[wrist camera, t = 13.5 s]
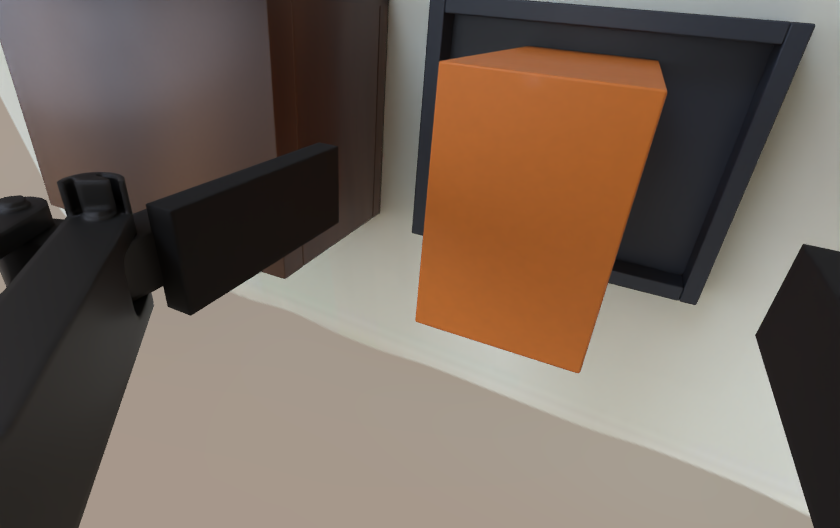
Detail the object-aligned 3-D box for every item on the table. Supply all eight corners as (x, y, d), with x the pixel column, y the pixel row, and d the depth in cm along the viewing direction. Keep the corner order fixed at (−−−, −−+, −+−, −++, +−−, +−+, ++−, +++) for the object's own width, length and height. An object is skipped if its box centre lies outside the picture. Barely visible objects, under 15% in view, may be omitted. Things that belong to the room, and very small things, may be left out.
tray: (801, 24, 19) (816, 23, 18) (692, 287, 25) (696, 306, 24) (445, -6, 24) (430, -8, 23) (424, 221, 30) (411, 233, 29)
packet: (659, 60, 21) (668, 90, 11) (605, 240, 26) (579, 374, 16) (527, 45, 23) (438, 60, 13) (498, 215, 28) (414, 322, 18)
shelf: (389, -14, 25) (-96, -89, 9) (380, 213, 31) (85, 419, 15) (152, -33, 31) (-426, -101, 14) (184, 164, 37) (-192, 277, 20)
